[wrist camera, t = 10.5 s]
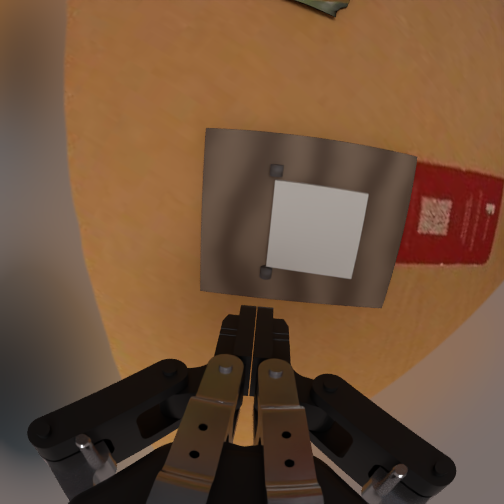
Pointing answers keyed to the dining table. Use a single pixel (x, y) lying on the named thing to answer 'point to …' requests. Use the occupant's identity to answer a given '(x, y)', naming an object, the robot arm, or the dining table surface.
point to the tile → (315, 228)
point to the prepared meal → (326, 5)
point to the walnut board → (260, 211)
